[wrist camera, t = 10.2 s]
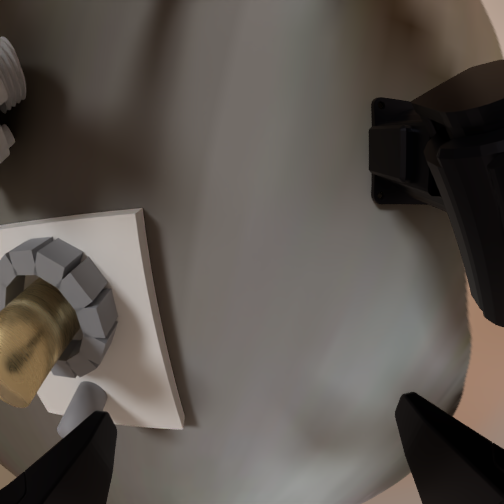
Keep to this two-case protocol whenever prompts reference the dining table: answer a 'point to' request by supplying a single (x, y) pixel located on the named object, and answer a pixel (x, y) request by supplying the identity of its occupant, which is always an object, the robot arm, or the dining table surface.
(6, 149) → the mechanical valve
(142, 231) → the stone fire pit
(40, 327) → the brass cylinder
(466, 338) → the dining table surface
